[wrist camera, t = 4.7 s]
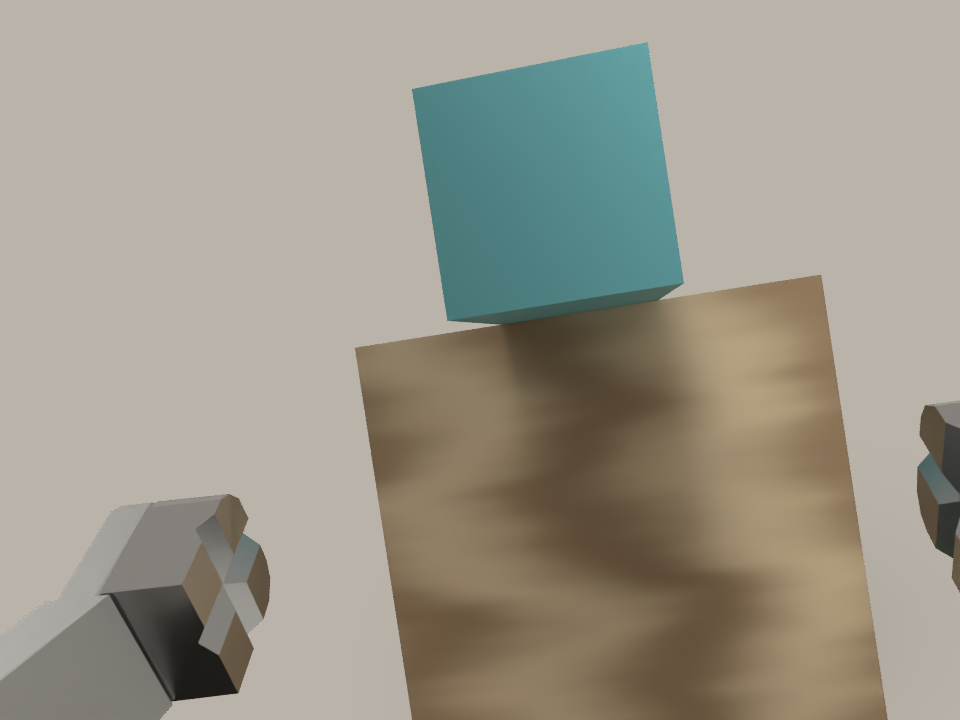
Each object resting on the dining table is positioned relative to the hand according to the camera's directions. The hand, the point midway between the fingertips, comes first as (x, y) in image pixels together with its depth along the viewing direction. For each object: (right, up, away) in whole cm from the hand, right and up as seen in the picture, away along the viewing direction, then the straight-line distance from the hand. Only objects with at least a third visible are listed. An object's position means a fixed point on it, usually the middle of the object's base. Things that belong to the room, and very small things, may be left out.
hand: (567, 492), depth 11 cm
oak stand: (+6, -23, +18) cm, 30 cm away
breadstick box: (+2, +3, +14) cm, 15 cm away
